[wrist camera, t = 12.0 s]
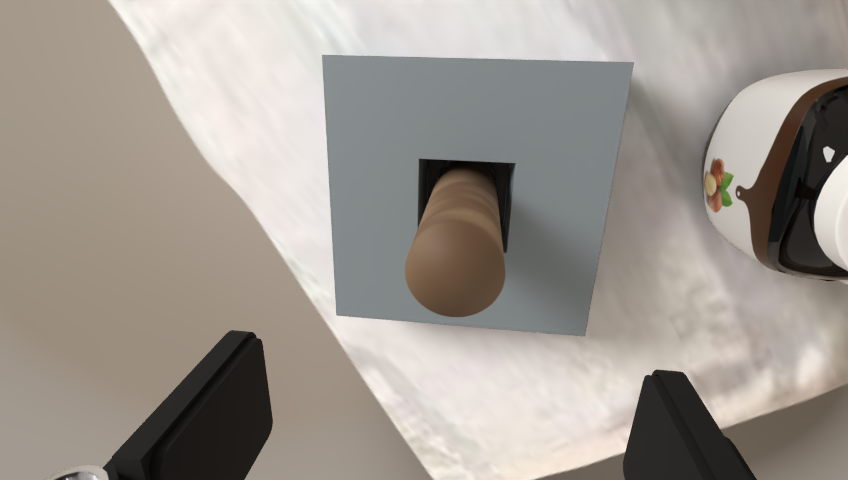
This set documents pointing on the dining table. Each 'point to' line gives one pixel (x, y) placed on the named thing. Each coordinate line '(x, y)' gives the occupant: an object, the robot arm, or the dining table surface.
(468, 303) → the walnut peg
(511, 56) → the dining table surface
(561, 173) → the socket block
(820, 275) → the spread jar
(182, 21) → the dining table surface
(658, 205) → the dining table surface
